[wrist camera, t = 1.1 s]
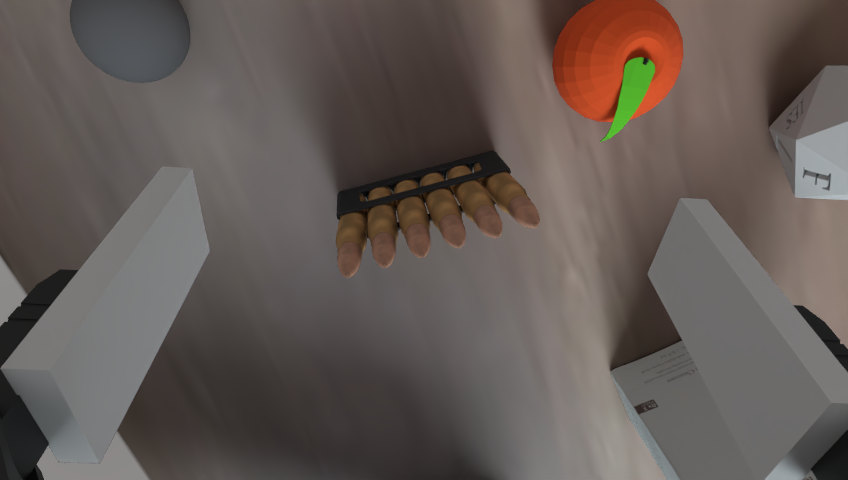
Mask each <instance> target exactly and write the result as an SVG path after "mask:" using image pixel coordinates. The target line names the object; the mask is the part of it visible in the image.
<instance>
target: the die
mask: <svg viewBox="0 0 848 480" xmlns="http://www.w3.org/2000/svg"><path fill="white" fill-rule="evenodd" d="M769 130H770V133H771V136H772V138H773V141H774V144H775V146H776V149H777V150H778V152H779V157H780V159H781V162H782V165H783V167H784V170H785V173H786V175H787V178H788V181H789V183H790V186H791V189H792V191H793V194H794V197H798V198H818V199H838V200H848V65H839V66H825V67H824V68H823V69H822V70H821V71H820V73H819V74H818V75H817V76H816V77H815V78H814V79H813V80H812V81H811V82H810V83H809V84H808V86H807V87H806V88H805V89H804V90H803V91H802V92H801V93H800V94H799V95H798V96H797V97H796V99H795V100H794V101H793V102H792V103H791V104H790V105H789V106H788V107H787V108H786V109H785V110H784V112H783V113H782V114H781V115H780V116H779V117H778V118H777V119H776V120H775V121H774V122H773V123H772V125H771V126H770V127H769Z"/></svg>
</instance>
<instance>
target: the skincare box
mask: <svg viewBox="0 0 848 480" xmlns="http://www.w3.org/2000/svg"><path fill="white" fill-rule="evenodd" d="M611 375H612V378H613V380H614V382H615V385H616V387H617V390H618V392H619V394H620V397H621V399H622V402H623V404H624V406H625V409H626V411H627V413H628V416H629V418H630V421H631V422H632V424H633V425H634V427H635V429H636V430H637V432H638V434H639V435H640V437H641V438H642V440H643V442H644V443H645V445H646V446H647V448H648V450H649V451H650V453H651V454H652V456H653V458H654V459H655V461H656V462H657V464H658V466H659V467H660V469H661V471H662V472H663V474H664V475H665V477H666V479H667V480H756V478H755V476H754V475H753V473H752V471H751V469H750V467H749V465H748V463H747V461H746V459H745V458H744V456H743V454H742V452H741V450H740V448H739V446H738V444H737V443H736V441H735V439H734V437H733V435H732V433H731V431H730V429H729V427H728V426H727V424H726V422H725V420H724V418H723V416H722V414H721V412H720V410H719V409H718V407H717V405H716V403H715V401H714V399H713V397H712V395H711V393H710V392H709V390H708V388H707V386H706V384H705V382H704V380H703V378H702V377H701V375H700V373H699V371H698V369H697V367H696V365H695V363H694V361H693V360H692V358H691V356H690V354H689V352H688V350H687V348H686V346H685V344H684V343H683V341H680V342H678V343H675V344H673V345H671V346H669V347H667V348H665V349H662V350H660V351H658V352H656V353H653V354H651V355H649V356H646V357H644V358H641V359H639V360H636V361H634V362H631V363H629V364H626V365H623V366H620V367H618V368H615V369H613V370H612V371H611ZM802 480H817V479H816V477H815V475H814V474H813V472H812V471H810V472H809V473H808V474H807V475H806V476H805V477H804V478H803V479H802Z"/></svg>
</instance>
